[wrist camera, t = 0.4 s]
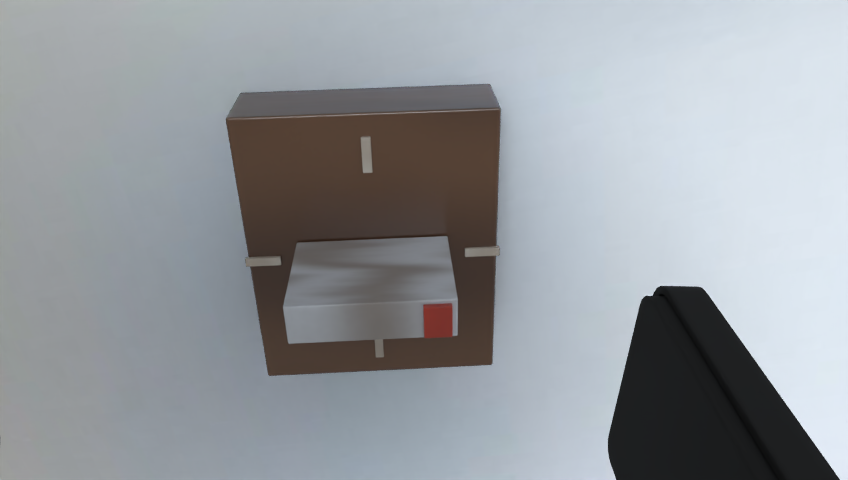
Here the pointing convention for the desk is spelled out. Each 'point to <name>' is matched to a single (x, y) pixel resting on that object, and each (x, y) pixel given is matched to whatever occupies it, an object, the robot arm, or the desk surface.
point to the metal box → (371, 290)
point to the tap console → (370, 204)
